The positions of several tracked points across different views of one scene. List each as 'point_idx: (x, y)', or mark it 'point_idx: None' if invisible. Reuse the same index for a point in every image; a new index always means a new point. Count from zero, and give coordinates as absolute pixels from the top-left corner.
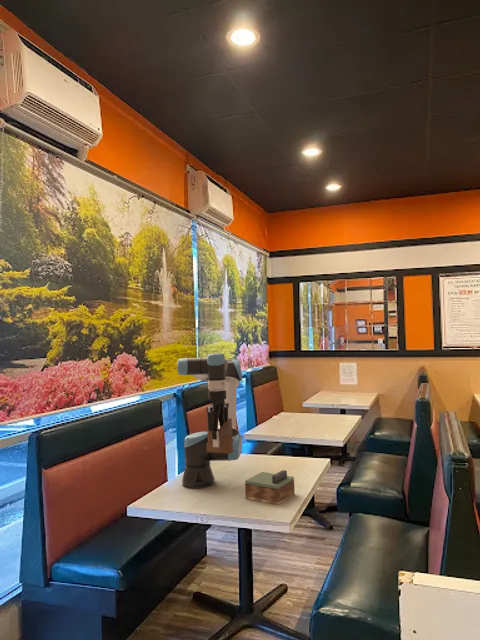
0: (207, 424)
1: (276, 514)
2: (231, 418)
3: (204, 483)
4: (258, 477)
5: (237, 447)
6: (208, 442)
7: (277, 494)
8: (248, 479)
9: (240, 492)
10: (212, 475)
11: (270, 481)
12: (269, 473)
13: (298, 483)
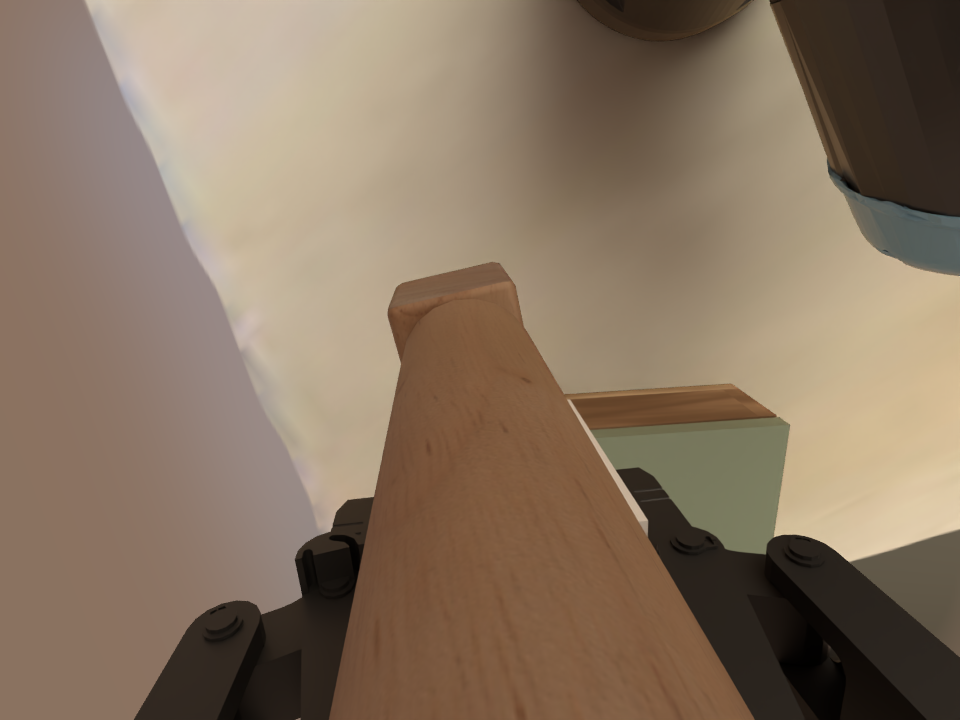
0: (395, 461)
1: None
2: None
3: (612, 17)
4: (670, 472)
5: (936, 271)
6: (408, 336)
7: None
8: (606, 445)
9: (625, 310)
10: (731, 4)
11: None
12: (773, 483)
13: (877, 492)
